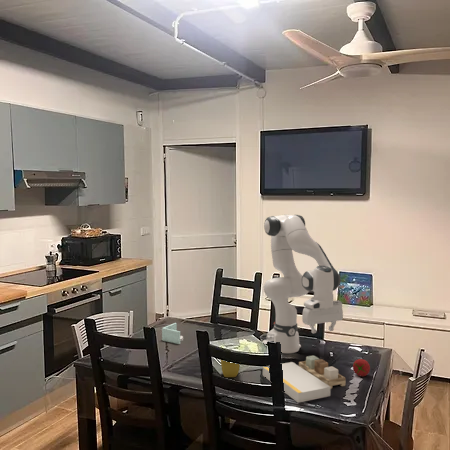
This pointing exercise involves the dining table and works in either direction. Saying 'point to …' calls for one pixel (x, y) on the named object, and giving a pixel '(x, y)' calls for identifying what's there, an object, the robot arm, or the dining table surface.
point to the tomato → (361, 367)
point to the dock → (300, 383)
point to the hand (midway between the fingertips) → (322, 331)
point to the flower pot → (229, 369)
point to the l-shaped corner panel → (171, 334)
